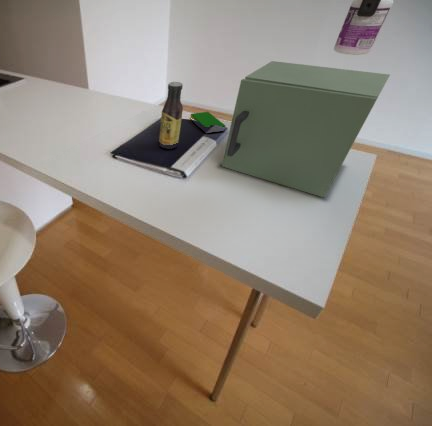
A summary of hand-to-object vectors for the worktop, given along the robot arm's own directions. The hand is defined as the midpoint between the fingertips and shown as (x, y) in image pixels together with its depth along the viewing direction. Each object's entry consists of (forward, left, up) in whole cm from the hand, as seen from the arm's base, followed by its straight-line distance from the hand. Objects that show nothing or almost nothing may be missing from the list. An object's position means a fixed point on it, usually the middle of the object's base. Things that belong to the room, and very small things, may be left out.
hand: (368, 13), depth 46 cm
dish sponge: (+36, -28, -38) cm, 60 cm away
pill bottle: (0, 0, -6) cm, 6 cm away
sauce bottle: (+38, -6, -38) cm, 55 cm away
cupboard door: (+6, -3, -38) cm, 38 cm away
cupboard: (+6, -16, -38) cm, 42 cm away
